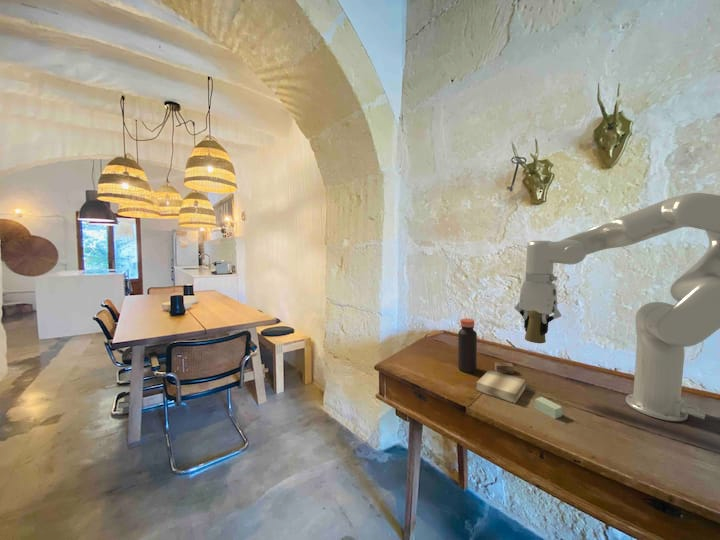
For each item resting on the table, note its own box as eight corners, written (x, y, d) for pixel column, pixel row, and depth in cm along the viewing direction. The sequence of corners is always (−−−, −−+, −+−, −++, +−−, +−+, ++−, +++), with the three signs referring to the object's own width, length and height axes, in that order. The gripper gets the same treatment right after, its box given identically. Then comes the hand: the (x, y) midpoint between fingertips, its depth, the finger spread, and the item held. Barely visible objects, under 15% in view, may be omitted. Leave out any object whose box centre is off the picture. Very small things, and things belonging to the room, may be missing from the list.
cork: (544, 344, 92) (546, 311, 90) (523, 340, 95) (524, 308, 94) (546, 339, 96) (548, 307, 95) (526, 335, 100) (527, 305, 99)
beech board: (525, 388, 98) (525, 379, 97) (515, 403, 89) (515, 394, 89) (489, 377, 106) (489, 369, 106) (476, 390, 97) (476, 382, 97)
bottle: (473, 365, 116) (473, 317, 114) (478, 373, 109) (479, 322, 107) (456, 365, 117) (456, 317, 115) (460, 373, 110) (460, 322, 108)
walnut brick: (511, 370, 111) (511, 363, 111) (513, 374, 108) (513, 366, 108) (494, 369, 113) (494, 362, 112) (496, 373, 110) (496, 365, 109)
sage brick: (561, 416, 82) (562, 406, 82) (554, 419, 81) (555, 409, 81) (541, 405, 88) (541, 396, 87) (534, 408, 86) (535, 399, 86)
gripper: (573, 280, 89) (569, 337, 91) (517, 275, 102) (515, 324, 104) (563, 282, 85) (559, 342, 87) (507, 276, 98) (504, 328, 100)
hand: (535, 331), depth 95 cm, fingers closed on cork, 4 cm apart
